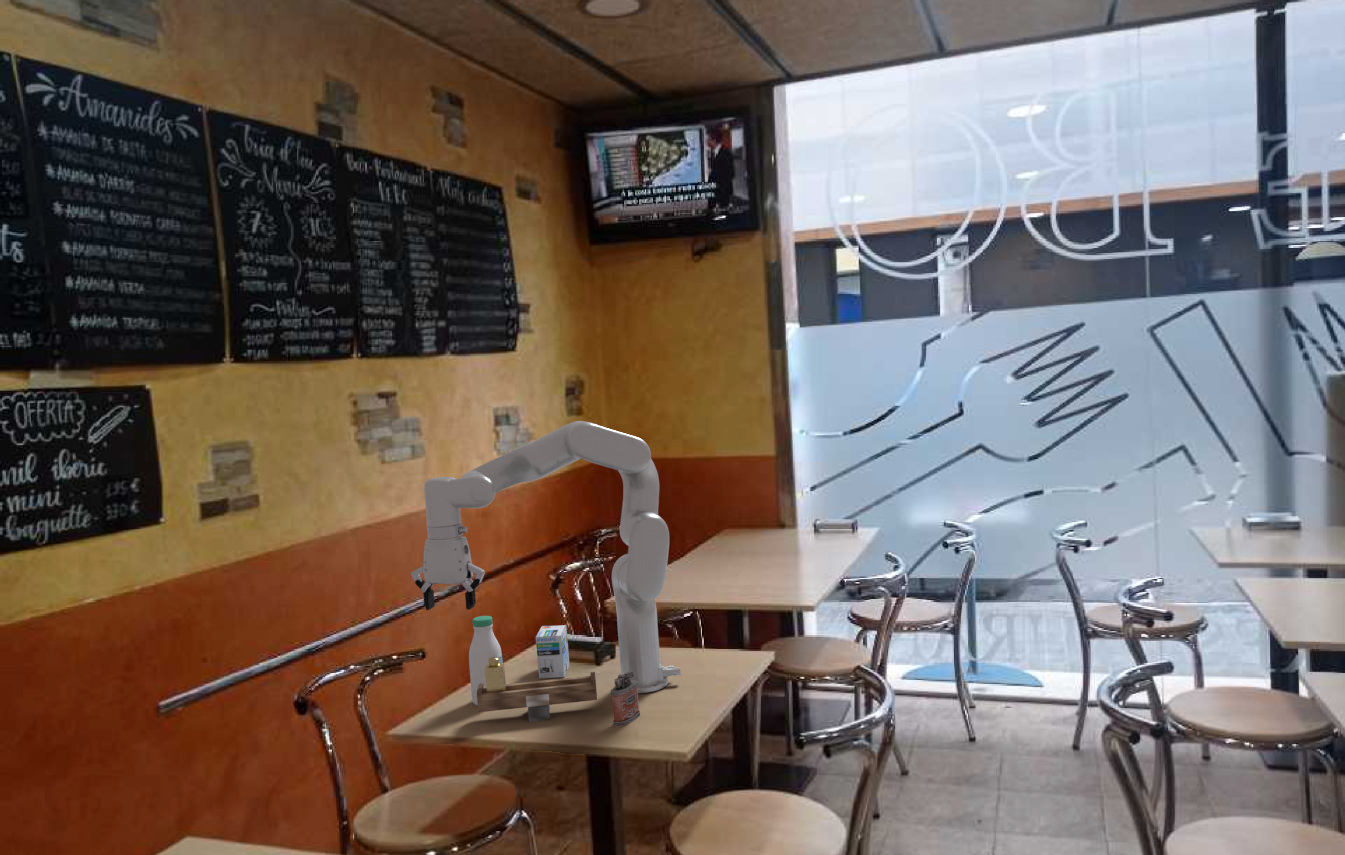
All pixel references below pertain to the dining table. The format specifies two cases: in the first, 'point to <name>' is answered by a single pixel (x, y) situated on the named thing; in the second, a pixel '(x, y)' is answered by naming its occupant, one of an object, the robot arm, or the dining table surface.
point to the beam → (538, 695)
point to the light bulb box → (552, 651)
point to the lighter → (625, 699)
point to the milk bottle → (482, 652)
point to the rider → (495, 676)
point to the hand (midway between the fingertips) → (450, 608)
